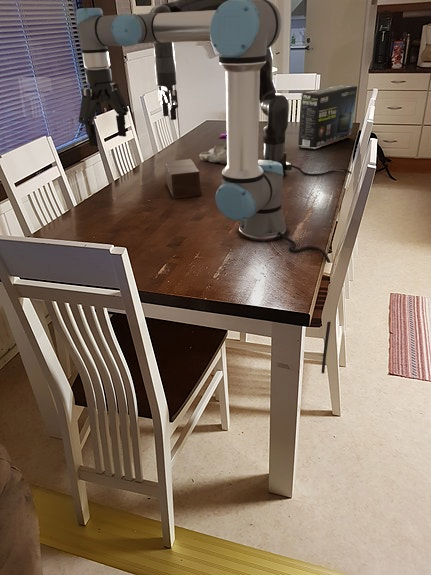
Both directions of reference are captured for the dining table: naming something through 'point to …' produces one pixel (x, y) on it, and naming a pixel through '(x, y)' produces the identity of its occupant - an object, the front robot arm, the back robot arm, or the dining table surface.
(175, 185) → the taupe rectangular block
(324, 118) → the router box
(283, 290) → the dining table surface
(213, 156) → the fossil
